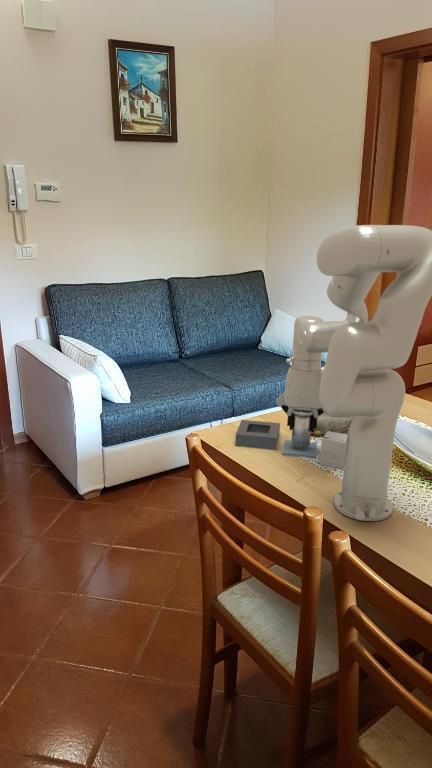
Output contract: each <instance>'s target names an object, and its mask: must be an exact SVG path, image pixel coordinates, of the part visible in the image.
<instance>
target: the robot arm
mask: <svg viewBox="0 0 432 768" xmlns="http://www.w3.org/2000/svg"><path fill="white" fill-rule="evenodd" d="M316 252H317V253H316V265H317V269H318V270H319V272H320V273H321V274H323V275H324V276H328V277H331V279H330V281H329V284H328V285H327V288H326V295H327V297H328V300H330V302H331V303H332V304H333V305H334V306H336V308H338V309H341V310H343V312H347V313H348V315H347V317H346V318H345V319H344V320H332V321H331V320H329V321H324V319H323V318H322V317H319V316H314V315H301V316H297V317H296V318H295V320H294V324H293V337H292V341H293V342H292V354H291V356H292V357H289V358H286V360H285V361H286V363H285V364H288V365H290V367H289V368H288V370H287V374H286V379H285V385H284V391H283V392H282V393H281V394H280V395H279V397H277V398H276V399H275V404H276V405H277V406H278V407H280V408H281V409H282V411H284V413H285V414H286V416H287V421H286V422H287V424H286V425H287V427H289V431H292V426H293V414H292V411H293V409H294V407H297V408H309V409H312V410H313V414H314V415H313V416H312V423H311V432H314V428H317V418H318V417H319V416H320V415H321V414H323V413H324V412H325V413H326V414H327V415H329V416H331V417H335V418H343V417H354V418H353V420H352V422H351V424H350V426H349V429H348V435H347V444H346V454H345V464H344V468H343V475H342V476H343V477H342V485H341V491H338V492H337V493H336V494H335V495H334V496H333V507H335V509H336V510H337V511H338V512H339V513H341V514H342V515H344V516H346V517H348V518H351V519H354V520H358V521H362V522H363V521H364V522H379V521H382V520H383V521H384V520H385V519H387V518H389V517H391V515H392V513H393V509H394V508H393V507H394V506H393V504H392V502H391V501H390V499H388V498H387V495H388V489H389V488H388V486H389V479H390V471H391V463H392V457H393V456H392V455H393V451H392V449H393V445H394V441H395V434H396V428H397V422H398V419H399V416H400V414H401V410H402V408H403V404H404V401H405V396H406V385H405V381H404V379H403V378H402V376H401V375H400V374H399V373H398V372H397V371H395V370H393V369H398V368H400V367H403V366H404V365H405V364H406V363H407V362H408V360H409V358H410V355H411V353H412V350H413V348H414V344H415V341H416V338H417V335H418V334H419V333H418V332H419V329H420V327H421V323H422V322H423V321H422V320H423V316H424V313H425V310H426V309H427V306H428V303H429V301H431V300H430V299H431V297H432V229H429V228H426V227H423V226H417V225H409V224H408V225H407V224H406V225H405V224H386V225H385V224H384V225H383V224H362V225H361V224H360V225H359V224H358V225H354V226H351V227H348V228H344V229H341V230H338V231H335V232H332V233H329V234H328V235H326V237H324V239H323V240H322V241H321V243H320V245H319V247H318V250H317V251H316ZM380 273H398V276H397V277H396V278H394V280H392V282H391V283H389V284H388V286H386V288H385V290H384V291H383V292H382V294H381V296H380V297H379V300H378V302H377V307H376V311H375V314H374V315H373V317H372V319H370V320H369V313H368V309H367V305H366V303H365V299H366V298H367V296H368V294H369V292H370V290H371V289H372V287H373V285H375V282H376V281H377V279H378V277H379V275H380ZM325 353H327V354H326V358H325V361H324V366H323V367H324V370H322V369H321V368H322V359H323V358H322V355H323V354H325ZM314 433H315V432H314ZM393 450H394V449H393Z"/></svg>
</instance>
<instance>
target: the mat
mask: <svg viewBox="0 0 432 768" xmlns="http://www.w3.org/2000/svg"><path fill="white" fill-rule="evenodd" d="M291 441H292V439H291V440H289V439H284V442H283V447H282V453H281V455H283V456H288V457H289V456H290V457H298V458H299V457H301V458H309V459H310V458H311V459H317V455H318V452H317V451H318V442H313V441H310V446H309V447H305V448H299V447H295V446H293V445H292V444H291Z"/></svg>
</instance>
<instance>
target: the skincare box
mask: <svg viewBox="0 0 432 768" xmlns="http://www.w3.org/2000/svg"><path fill="white" fill-rule="evenodd" d="M346 444H347V434H341V433H336V432H330V431H327V433H326V434H325V435H324V434H323V437H322V438H321V445H320V447H321V448H320V461H319V462H320V463H319V464H320V466H321V465H322V466H327V467H332V468H335V469H343V470H344V464H345V454H346Z"/></svg>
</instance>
